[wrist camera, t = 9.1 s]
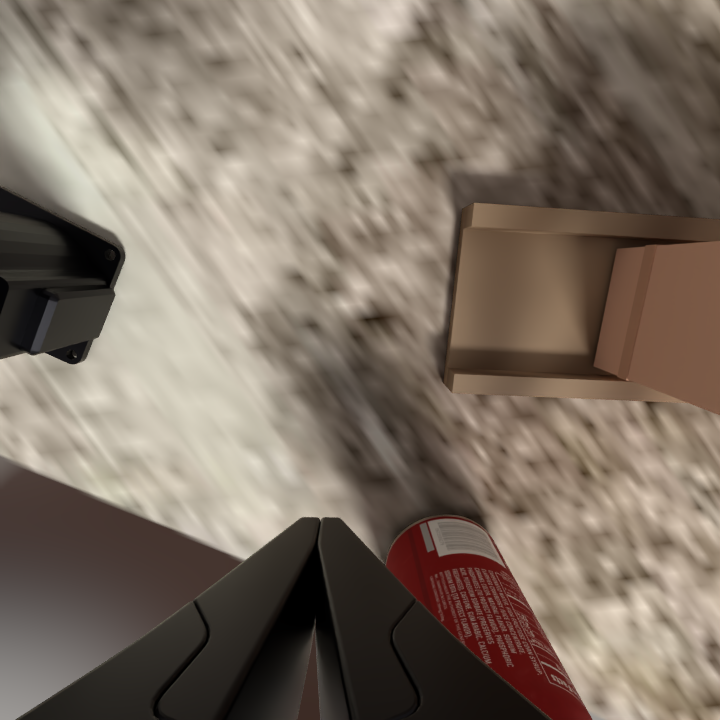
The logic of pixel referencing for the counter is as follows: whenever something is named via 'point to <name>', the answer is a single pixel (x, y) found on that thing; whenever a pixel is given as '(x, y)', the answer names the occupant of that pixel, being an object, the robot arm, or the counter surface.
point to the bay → (545, 298)
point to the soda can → (483, 607)
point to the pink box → (665, 321)
